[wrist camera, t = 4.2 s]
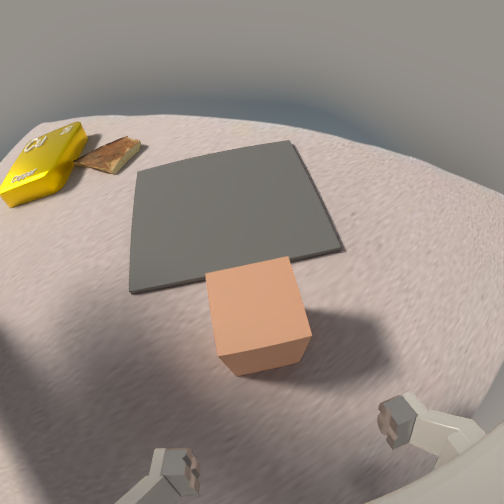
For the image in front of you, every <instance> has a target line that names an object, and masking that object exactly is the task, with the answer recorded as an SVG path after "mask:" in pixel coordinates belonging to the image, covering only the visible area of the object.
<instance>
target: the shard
mask: <svg viewBox="0 0 504 504" xmlns="http://www.w3.org/2000/svg"><path fill="white" fill-rule="evenodd" d="M140 145H141V142H140V140H134V139H130V138H128V136H126V137H123V138H120V139H118V140H115V141H113V142H111V143H108V144H106V145H104V146H101V147H99V148H97V149H95V150H93V151H91V152H90V153H88V154H86V155H84V156H82V157H80V158H78V159H76V160H74V161H73V162H74V163H75V164H76V165H77V166H81V167H90V168H96V169H100V170H103V171H106V172H109V173H111V174H112V173H113V174H116V173H117V172H118V171H119V170H120V169H121V168H122V167H123V166H124V164H125V163H126V162H127V161H128V160H129V159H130V158H132V157H133V156H134V155H135V154H136V153H137V152H138V151H139V149H140Z"/></svg>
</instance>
